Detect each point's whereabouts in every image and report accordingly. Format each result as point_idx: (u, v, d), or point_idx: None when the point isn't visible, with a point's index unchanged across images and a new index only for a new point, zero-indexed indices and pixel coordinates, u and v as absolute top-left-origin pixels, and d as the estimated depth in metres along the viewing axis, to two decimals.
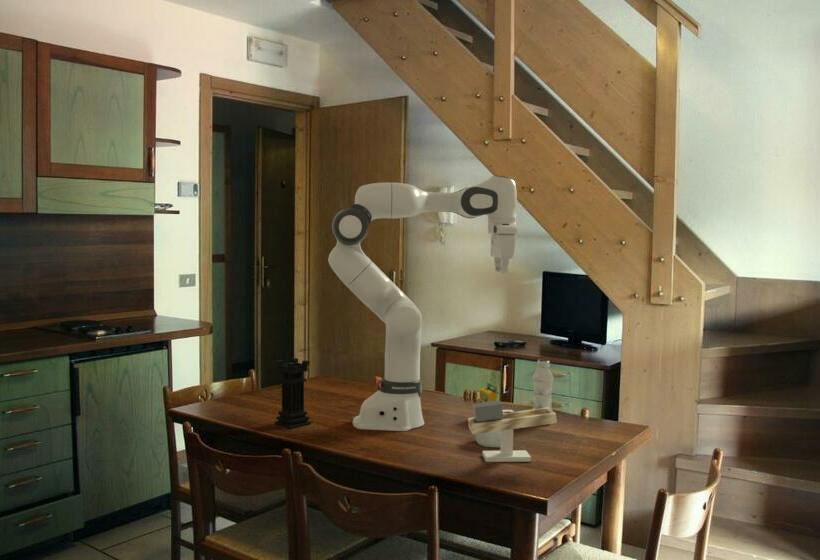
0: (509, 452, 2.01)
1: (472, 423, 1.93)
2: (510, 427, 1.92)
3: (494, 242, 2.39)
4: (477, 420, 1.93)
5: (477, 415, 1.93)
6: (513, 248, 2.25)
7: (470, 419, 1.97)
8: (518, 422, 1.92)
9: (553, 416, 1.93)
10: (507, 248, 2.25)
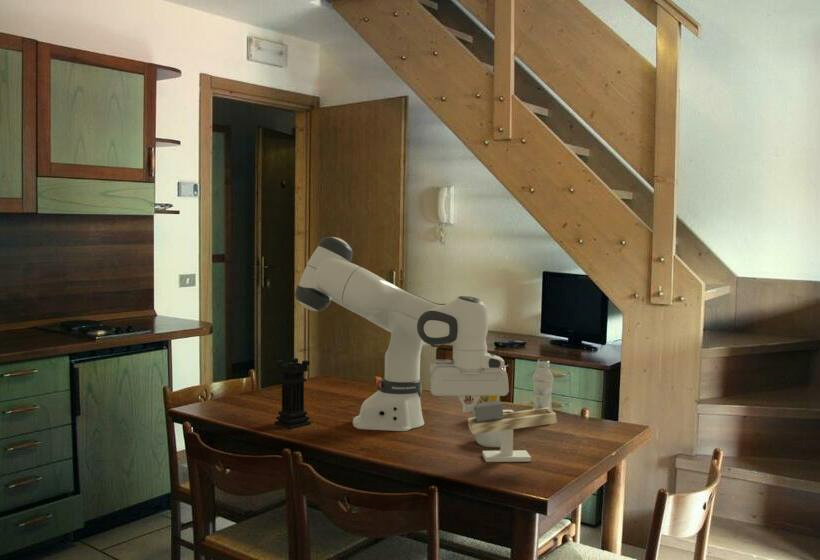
0: (509, 452, 2.01)
1: (472, 423, 1.93)
2: (510, 427, 1.92)
3: (454, 377, 1.92)
4: (477, 420, 1.93)
5: (477, 415, 1.93)
6: None
7: (470, 419, 1.97)
8: (518, 422, 1.92)
9: (553, 416, 1.93)
10: None
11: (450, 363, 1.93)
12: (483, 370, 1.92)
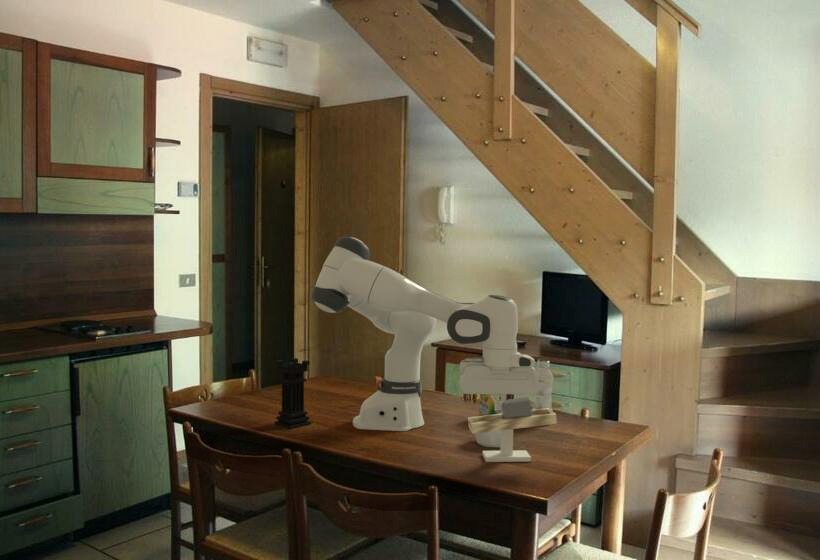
0: (509, 452, 2.01)
1: (472, 422, 1.93)
2: (510, 427, 1.92)
3: (484, 376, 1.92)
4: (505, 416, 1.93)
5: (505, 411, 1.93)
6: None
7: (470, 418, 1.97)
8: (518, 422, 1.92)
9: (553, 417, 1.93)
10: None
11: (480, 362, 1.93)
12: (513, 369, 1.92)
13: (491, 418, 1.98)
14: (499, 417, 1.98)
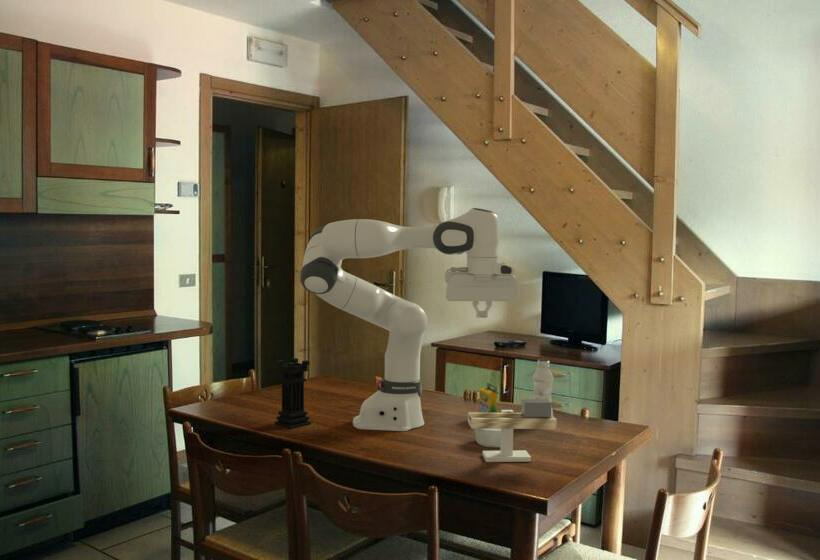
0: (509, 452, 2.01)
1: (472, 417, 1.93)
2: (509, 426, 1.92)
3: (468, 284, 2.05)
4: (525, 415, 1.94)
5: (526, 410, 1.94)
6: None
7: (470, 413, 1.97)
8: (518, 423, 1.92)
9: (553, 421, 1.93)
10: None
11: (464, 271, 2.06)
12: (495, 276, 2.05)
13: (491, 416, 1.98)
14: (499, 416, 1.98)
